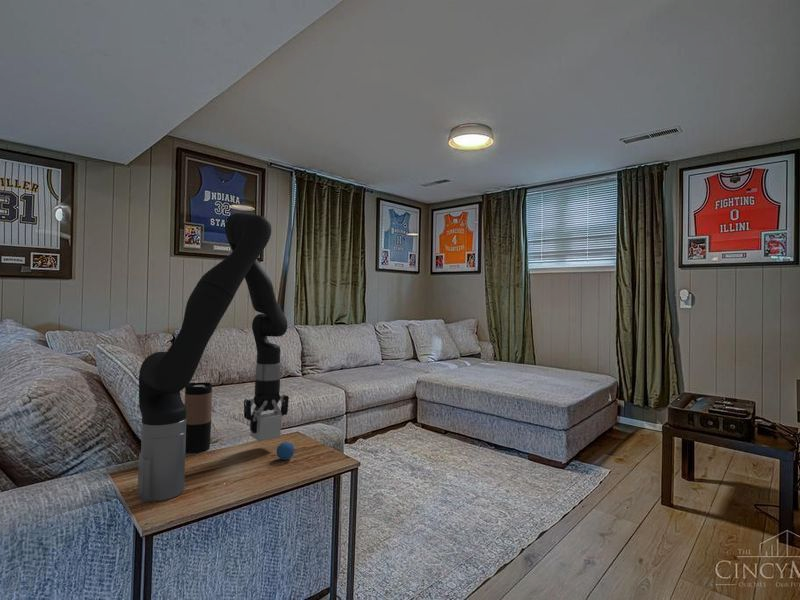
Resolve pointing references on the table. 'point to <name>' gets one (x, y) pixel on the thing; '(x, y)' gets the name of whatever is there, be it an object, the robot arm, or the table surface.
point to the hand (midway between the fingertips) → (265, 430)
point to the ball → (285, 451)
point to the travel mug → (198, 417)
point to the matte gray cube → (267, 426)
